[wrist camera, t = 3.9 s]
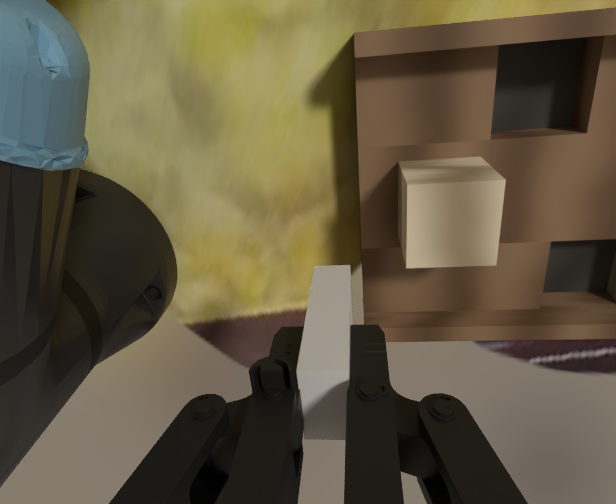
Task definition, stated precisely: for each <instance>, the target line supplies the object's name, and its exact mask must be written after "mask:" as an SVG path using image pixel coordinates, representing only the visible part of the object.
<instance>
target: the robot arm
mask: <svg viewBox="0 0 616 504" xmlns="http://www.w3.org/2000/svg"><path fill="white" fill-rule="evenodd" d="M89 78H90V66H89V60H88V55H87V52H86V49H85V47H84V44H83V42H82V40H81V38H80V37H79V35H78V33H77V32H76V30H75V29H74V27H73V26H72V25H71V24H70V23H69V21H68V20H67V19H66V18H65V17H64V16H63V15H62V14H61V13H60V12H59V11H58V10H57V9H55V8H54V7H53V6H52V5H51V4H49V3H48V2H47V1H45V0H0V487H1V486H2V484H3V483H4V482H5V480H6V479H7V478H8V477H9V475H10V474H11V473H12V472H13V470H14V469H15V468H16V466H17V465H18V464H19V463H20V461H21V460H22V459H23V457H24V456H25V455H26V453H27V452H28V451H29V450H30V448H31V447H32V446H33V445H34V443H35V442H36V441H37V439H38V438H39V437H40V435H41V434H42V433H43V431H44V430H45V429H46V428H47V427H48V425H49V424H50V423H51V421H52V420H53V419H54V417H55V416H56V415H57V414H58V412H59V411H60V410H61V408H62V407H63V406H64V405H65V403H66V402H67V401H68V400H69V398H70V397H71V396H72V394H73V393H74V392H75V391H76V389H77V388H78V387H79V385H80V384H81V383H82V382H83V380H84V379H85V378H86V376H87V375H88V374H89V373H90V371H91V370H92V369H93V368H94V366H95V365H96V364H98V363H100V362H101V361H103V360H105V359H107V358H108V357H110V356H111V355H113V354H115V353H117V352H118V351H120V350H122V349H123V348H125V347H126V346H128V345H130V344H132V343H133V342H135V341H137V340H138V339H140V338H141V337H143V336H144V335H145V334H146V333H147V332H149V331H150V330H151V329H152V328H153V327H154V326H155V324H156V323H157V322H158V321H159V319H160V318H161V316H162V315H163V313H164V312H165V310H166V309H167V307H168V306H169V304H170V302H171V300H172V298H173V295H174V292H175V289H176V283H177V264H176V258H175V254H174V250H173V247H172V244H171V242H170V240H169V237H168V235H167V233H166V232H165V230H164V228H163V226H162V225H161V223H160V222H159V220H158V219H157V218H156V216H155V215H154V214H153V213H152V212H151V210H150V209H149V208H148V207H147V206H146V205H145V204H144V203H143V202H142V201H141V200H140V199H139V198H137V197H136V196H135V195H134V194H132V193H131V192H130V191H128V190H127V189H125V188H124V187H122V186H121V185H119V184H117V183H116V182H114V181H112V180H110V179H108V178H105V177H103V176H100V175H98V174H95V173H92V172H89V171H84V170H80V167H81V166H83V165H84V161H85V159H86V157H87V155H88V142H87V140H86V138H85V136H84V135H85V124H86V112H87V101H88V89H89ZM249 375H250V381H251V386H252V391H253V392H252V394H251V395H250V396H248V397H246V398H243V399H240V400H237V401H233V402H229V403H226V401H225V400H224V399H223V398H222V397H221V396H219V395H216V394H205V395H201V396H198V397H196V398H194V399H192V400H191V401H189V403H187V404H186V405H185V406H184V408H183V409H182V410H181V411H180V413H179V414H178V415H177V417H176V418H175V419H174V420H173V422H172V423H171V424H170V426H169V427H168V428H167V429H166V431H165V432H164V433H163V435H162V436H161V437H160V439H159V440H158V441H157V442H156V444H155V445H154V446H153V448H152V449H151V450H150V452H149V453H148V454H147V455H146V457H145V458H144V459H143V460H142V462H141V463H140V464H139V466H138V467H137V468H136V470H135V471H134V472H133V473H132V475H131V476H130V477H129V478H128V480H127V481H126V482H125V484H124V485H123V486H122V488H121V489H120V490H119V491H118V493H117V494H116V496H115V497H114V498H113V499H112V500H111V502H110V503H109V504H297V503H298V495H299V486H300V477H301V470H302V462H303V447H302V438H303V430H304V438H305V439H326V440H327V439H328V440H346V447H345V490H344V504H404V501H403V491H402V481H401V472H404V473H407V474H410V475H413V476H416V477H417V480H418V483H419V485H420V488H421V490H422V492H423V495H424V497H425V500H426V502H427V504H527V502H526V500H525V499H524V497H523V495H522V494H521V492H520V491H519V489H518V488H517V486H516V484H515V483H514V481H513V480H512V478H511V477H510V475H509V473H508V472H507V470H506V469H505V467H504V466H503V464H502V463H501V461H500V459H499V458H498V456H497V455H496V453H495V452H494V450H493V448H492V447H491V445H490V444H489V442H488V441H487V439H486V438H485V436H484V435H483V433H482V431H481V430H480V428H479V427H478V425H477V423H476V422H475V420H474V419H473V417H472V416H471V414H470V412H469V411H468V409H467V408H466V406H465V405H464V404H463V403H462V402H461V401H460V400H458V399H457V398H455V397H453V396H451V395H446V394H443V393H440V394H431V395H428V396H425V397H424V398H423V399H422V400H421V401H420V402H417V401H414V400H410V399H407V398H405V397H403V396H401V395H399V394H398V393H397V392H396V391H394V389H393V388H392V386H391V384H390V380H389V371H388V361H387V352H386V342H385V333H384V332H383V330H382V329H381V328H380V327H379V325H378V324H374V325H353V311H352V290H351V270H350V265H332V266H315V267H314V273H313V278H312V284H311V290H310V296H309V301H308V307H307V313H306V319H305V324H304V327H281V329H280V330H279V331H278V332H277V333H276V334H275V335H274V338H273V342H272V347H271V349H270V354H269V357H265V358H263V359H260V360H258V361H257V362H255V363H254V364H253V365H252V366H251V368H250V369H249ZM400 471H401V472H400Z"/></svg>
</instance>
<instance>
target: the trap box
mask: <svg viewBox="0 0 616 504" xmlns="http://www.w3.org/2000/svg"><path fill="white" fill-rule="evenodd" d="M354 57H355V85H356V112H357V139H358V167H359V194H360V222H361V249H362V273H363V274H362V275H363V302H364V325H374V324H378V325H379V327H380V328H381V329H382V330H383V332H384V333H385V342H417V341H491V340H562V339H616V8H607V9H597V10H587V11H576V12H566V13H556V14H545V15H535V16H524V17H514V18H504V19H493V20H483V21H472V22H462V23H452V24H441V25H431V26H420V27H410V28H400V29H389V30H379V31H368V32H358V33H354ZM464 157H481V158H483V159H484V160H485V161H486V162H487V163H488V164H489V165H490V166H491V167H493V168H494V169H495V170H496V171H497V172H498V173H499V174H500V175H501V176H502V177H504V178H505V179H506V183H505V192H504V201H503V210H502V219H501V228H500V237H499V246H498V255H497V264H496V265H494V266H464V267H434V268H406V265H405V261H404V257H403V253H402V248H401V244H400V240H399V236H398V162H399V161H416V160H432V159H448V158H464Z"/></svg>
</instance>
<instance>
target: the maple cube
mask: <svg viewBox="0 0 616 504" xmlns="http://www.w3.org/2000/svg"><path fill="white" fill-rule="evenodd" d="M505 183H506V179H505V178H504V177H502V176H501V175H500V174H499V173H498V172H497V171H496V170H495V169H494V168H493V167H491V166H490V165H489V164H488V163H487V162H486V161H485V160H484V159H483V158H481V157H464V158H448V159H432V160H416V161H399V162H398V236H399V240H400V244H401V248H402V253H403V257H404V261H405V265H406V268H434V267H464V266H494V265H496V264H497V255H498V246H499V237H500V228H501V219H502V210H503V201H504V192H505Z"/></svg>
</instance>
